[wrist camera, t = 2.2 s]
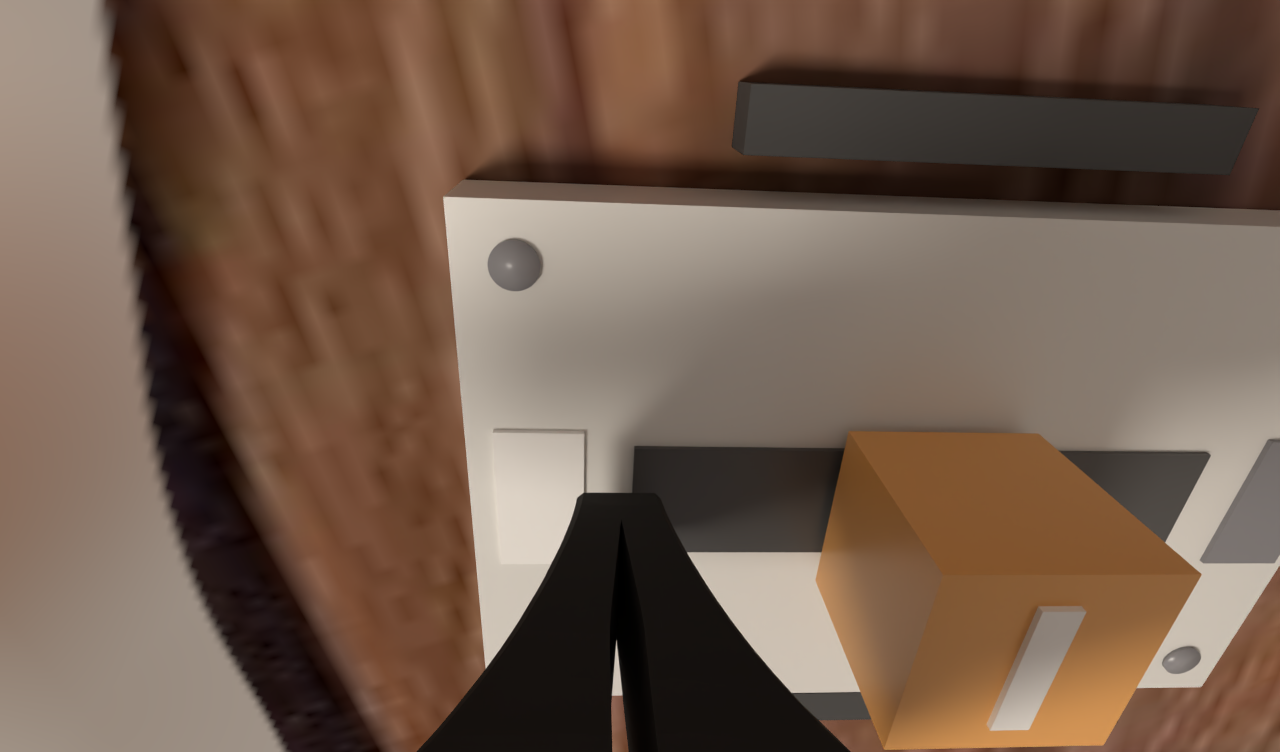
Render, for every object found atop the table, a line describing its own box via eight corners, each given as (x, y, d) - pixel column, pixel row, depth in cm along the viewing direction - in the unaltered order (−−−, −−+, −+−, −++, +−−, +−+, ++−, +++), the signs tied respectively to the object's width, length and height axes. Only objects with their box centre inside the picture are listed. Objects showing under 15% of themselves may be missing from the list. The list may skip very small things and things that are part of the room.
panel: (1153, 636, 17) (1204, 690, 15) (498, 642, 16) (487, 701, 14) (1391, 214, 12) (1500, 235, 10) (463, 179, 11) (441, 198, 9)
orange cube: (983, 580, 13) (1107, 751, 10) (815, 580, 13) (886, 756, 10) (1038, 433, 11) (1208, 580, 8) (848, 431, 11) (947, 581, 8)
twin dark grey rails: (970, 683, 17) (990, 717, 16) (675, 686, 17) (679, 722, 16) (1204, 104, 11) (1259, 108, 10) (738, 81, 10) (751, 83, 9)
